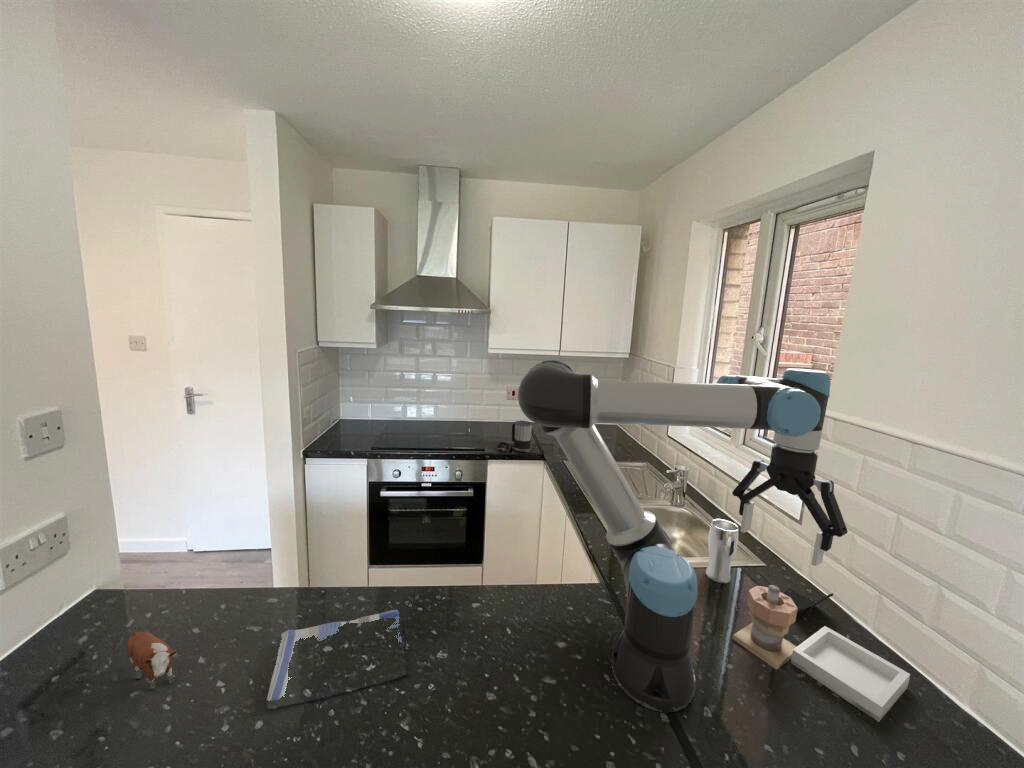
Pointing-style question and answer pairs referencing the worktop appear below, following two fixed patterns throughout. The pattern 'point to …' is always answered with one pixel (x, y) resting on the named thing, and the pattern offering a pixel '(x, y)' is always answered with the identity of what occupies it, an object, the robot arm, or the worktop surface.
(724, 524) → the silver metal tumbler
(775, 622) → the terracotta ring
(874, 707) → the tray
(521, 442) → the milk frother
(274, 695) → the dish towel
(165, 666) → the bull figurine
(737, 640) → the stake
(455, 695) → the worktop surface
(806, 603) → the handheld gaming console
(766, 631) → the oak ring
